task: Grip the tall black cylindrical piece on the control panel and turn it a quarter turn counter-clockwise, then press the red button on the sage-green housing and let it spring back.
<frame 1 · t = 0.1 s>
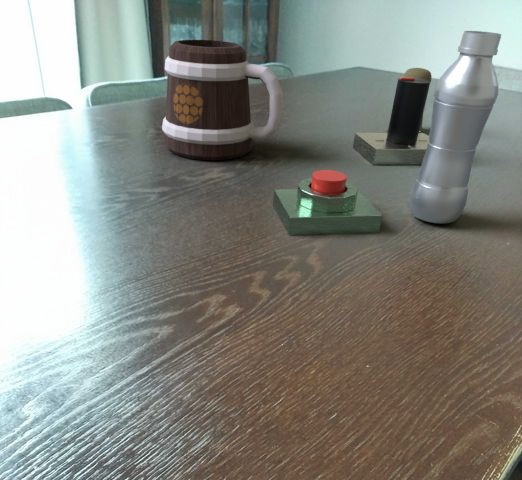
button box: (323, 219, 61), on the table
cork: (405, 131, 100), on the table
panel: (398, 155, 85), on the table
mug: (222, 152, 82), on the table
button: (328, 182, 58), point 4 cm above the table, slide at 0.1 cm
plastic bottle: (431, 220, 63), on the table
black cylindrical piece: (407, 110, 80), point 7 cm above the table, hinge at 0.0°
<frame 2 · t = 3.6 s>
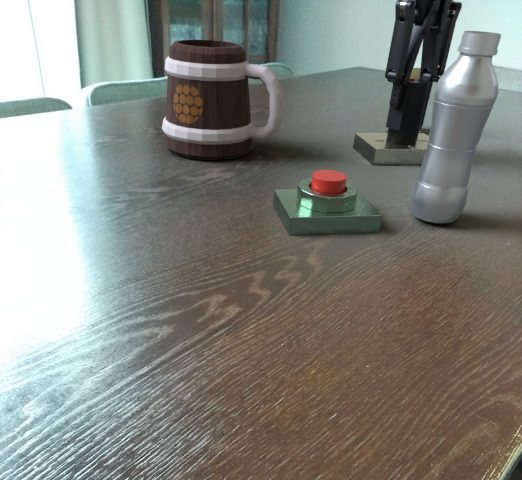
hand: (404, 126, 82), 5 cm above the table, tool pointing down, fingers closed on black cylindrical piece, 5 cm apart
black cylindrical piece: (407, 110, 80), point 7 cm above the table, hinge at -0.1°, touching gripper
everything else where it was.
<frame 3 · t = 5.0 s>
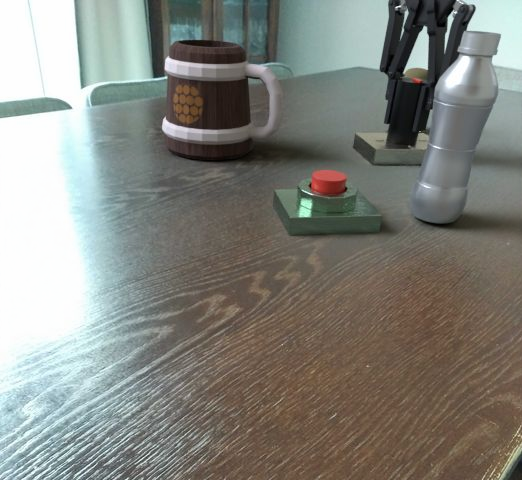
hand: (404, 126, 82), 5 cm above the table, tool pointing down, fingers closed on black cylindrical piece, 5 cm apart
black cylindrical piece: (407, 110, 80), point 7 cm above the table, hinge at 90.1°, touching gripper
everything else where it was.
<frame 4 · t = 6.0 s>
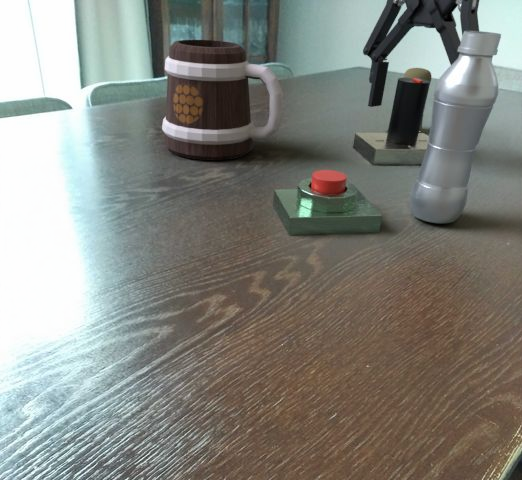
hand: (407, 114, 81), 7 cm above the table, tool pointing down, fingers open, 13 cm apart
black cylindrical piece: (407, 110, 80), point 7 cm above the table, hinge at 89.9°
everything else where it was.
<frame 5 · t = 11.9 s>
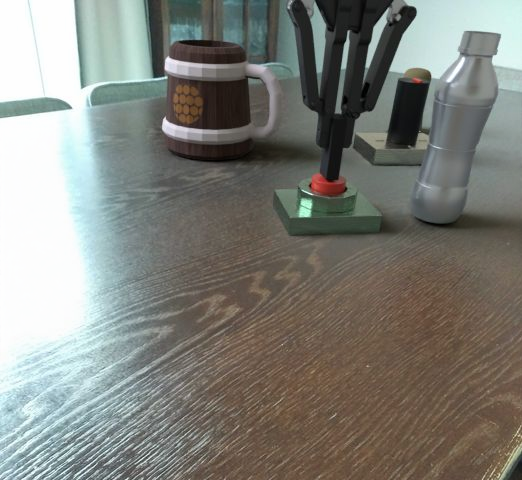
hand: (328, 176, 58), 5 cm above the table, tool pointing down, fingers closed
button: (328, 185, 58), point 4 cm above the table, slide at -0.3 cm, touching gripper
everything else where it was.
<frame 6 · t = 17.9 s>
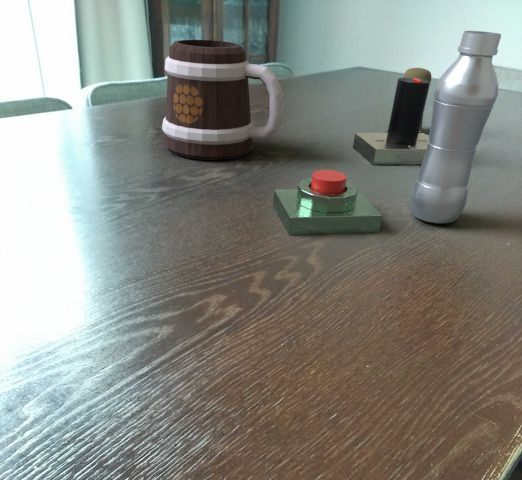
button: (328, 182, 58), point 4 cm above the table, slide at 0.1 cm
everything else where it was.
at the end: black cylindrical piece at +90° (first picture: +0°); button pushed in 1.0 cm at the most during the clip, back to where it started at the end; button slide at 0.1 cm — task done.
